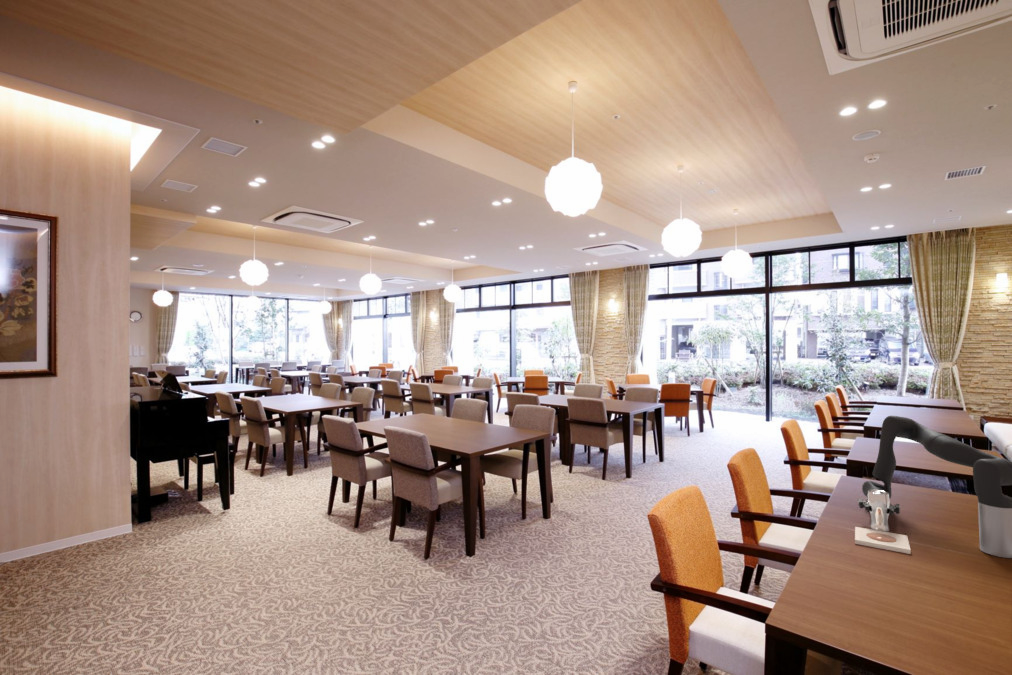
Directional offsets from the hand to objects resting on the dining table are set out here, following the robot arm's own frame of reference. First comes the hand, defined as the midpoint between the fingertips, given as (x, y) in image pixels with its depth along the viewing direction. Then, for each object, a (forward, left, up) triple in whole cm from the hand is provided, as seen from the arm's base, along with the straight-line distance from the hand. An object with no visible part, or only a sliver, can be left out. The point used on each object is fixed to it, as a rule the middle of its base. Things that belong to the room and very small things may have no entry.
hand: (879, 510), depth 190 cm
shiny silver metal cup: (0, -2, -8) cm, 9 cm away
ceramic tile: (0, +13, -8) cm, 15 cm away
